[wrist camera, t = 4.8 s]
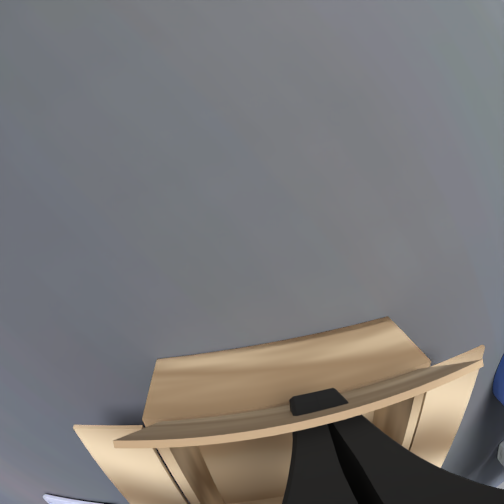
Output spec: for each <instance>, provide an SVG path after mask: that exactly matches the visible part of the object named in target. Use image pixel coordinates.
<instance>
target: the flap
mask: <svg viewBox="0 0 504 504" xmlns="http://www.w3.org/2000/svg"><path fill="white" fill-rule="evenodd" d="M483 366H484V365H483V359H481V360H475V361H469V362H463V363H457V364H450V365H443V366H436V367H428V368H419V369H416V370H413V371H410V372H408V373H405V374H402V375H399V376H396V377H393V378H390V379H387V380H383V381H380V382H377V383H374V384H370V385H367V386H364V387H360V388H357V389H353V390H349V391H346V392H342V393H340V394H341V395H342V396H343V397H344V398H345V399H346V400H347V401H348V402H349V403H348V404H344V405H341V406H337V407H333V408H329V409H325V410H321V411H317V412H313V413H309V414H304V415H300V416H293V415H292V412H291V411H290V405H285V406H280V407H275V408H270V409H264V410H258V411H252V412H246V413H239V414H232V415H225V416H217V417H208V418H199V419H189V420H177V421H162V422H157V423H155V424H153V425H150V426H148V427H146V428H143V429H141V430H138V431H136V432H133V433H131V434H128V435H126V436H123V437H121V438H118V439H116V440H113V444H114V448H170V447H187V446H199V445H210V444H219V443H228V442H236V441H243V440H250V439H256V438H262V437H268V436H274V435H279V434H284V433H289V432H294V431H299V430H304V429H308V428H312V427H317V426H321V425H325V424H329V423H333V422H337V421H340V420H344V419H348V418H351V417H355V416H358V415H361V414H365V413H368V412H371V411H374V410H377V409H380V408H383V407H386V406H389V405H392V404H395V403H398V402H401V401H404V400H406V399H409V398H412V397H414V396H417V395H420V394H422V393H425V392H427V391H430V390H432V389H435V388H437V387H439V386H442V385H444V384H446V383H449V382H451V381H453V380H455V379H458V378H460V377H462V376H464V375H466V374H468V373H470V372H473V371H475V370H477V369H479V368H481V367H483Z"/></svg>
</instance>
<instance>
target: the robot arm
mask: <svg viewBox="0 0 504 504" xmlns="http://www.w3.org/2000/svg"><path fill="white" fill-rule="evenodd" d="M289 403H290V411H291V412H292V415H293V416H300V415H304V414H309V413H313V412H317V411H321V410H325V409H329V408H333V407H337V406H341V405H344V404H348V403H349V402H348V401H347V400H346V399H345V398H344V397H343V396H342V395H341V394H340V393H339V392H338V391H337V390H336V389H335V388H329V389H325V390H321V391H316V392H312V393H307V394H302V395H298V396H293V397H292V398H291V399H290V400H289ZM292 436H293V443H292V455H291V462H290V468H289V474H288V480H287V485H286V489H285V493H284V497H283V501H282V504H504V489H499V488H495V487H491V486H487V485H484V484H480V483H477V482H474V481H472V480H469V479H466V478H463V477H461V476H458V475H455V474H453V473H450V472H448V471H446V470H444V469H442V468H440V467H438V466H436V465H433V464H432V463H430V462H428V461H426V460H424V459H422V458H421V457H419V456H417V455H416V454H414V453H412V452H411V451H409V450H408V449H406V448H404V447H403V446H402V445H400V444H399V443H397V442H396V441H394V440H393V439H392V438H390V437H389V436H388V435H386V434H385V433H384V432H382V431H381V430H380V429H379V428H377V427H376V426H375V425H374V424H373V423H371V422H370V421H369V420H368V419H367V418H365V417H364V416H363V415H362V414H361V415H358V416H355V417H351V418H348V419H344V420H340V421H337V422H333V423H329V424H325V425H321V426H317V427H312V428H308V429H304V430H299V431H294V432H292ZM43 498H44V499H45V500H46V501H47V502H48V503H49V504H102V503H94V502H87V501H80V500H74V499H68V498H63V497H57V496H53V495H48V494H44V496H43Z"/></svg>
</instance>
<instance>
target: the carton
mask: <svg viewBox="0 0 504 504" xmlns="http://www.w3.org/2000/svg"><path fill="white" fill-rule="evenodd" d="M484 349H485V346H483V345H481V346H479V347H476V348H474V349H472V350H470V351H468V352H465V353H463V354H461V355H458V356H456V357H454V358H451V359H449V360H446V361H444V362H441V363H439V364H436V365H434V366H431V367H436V366H443V365H450V364H457V363H463V362H469V361H475V360H481V359H482V356H483V353H484ZM430 364H431V361H430V360H429V358H428V357H427V356H426V355H425V354H424V353H423V352H422V351H421V350H420V349H419V348H418V347H417V346H416V345H415V344H414V343H413V342H412V341H411V340H410V339H409V338H408V336H407V335H406V334H405V333H404V332H403V331H402V330H401V329H400V328H399V327H398V326H397V325H396V324H395V323H394V322H393V321H392V320H391V319H390V318H389V317H384V318H380V319H376V320H372V321H368V322H364V323H360V324H356V325H352V326H348V327H343V328H339V329H335V330H330V331H326V332H321V333H317V334H312V335H307V336H302V337H297V338H292V339H287V340H282V341H277V342H271V343H266V344H260V345H254V346H248V347H242V348H236V349H230V350H223V351H217V352H210V353H203V354H195V355H187V356H179V357H171V358H162V359H157V361H156V365H155V369H154V372H153V376H152V380H151V384H150V388H149V392H148V396H147V401H146V405H145V409H144V413H143V417H142V421H143V423H144V425H145V427H148V426H150V425H153V424H155V423H157V422H162V421H177V420H189V419H199V418H208V417H217V416H225V415H232V414H239V413H246V412H252V411H258V410H264V409H270V408H275V407H280V406H285V405H290V403H289V400H290V399H291V398H292V397H293V396H298V395H302V394H307V393H312V392H316V391H321V390H325V389H329V388H335V389H336V390H337V391H338V392H339V393H342V392H346V391H349V390H353V389H357V388H360V387H364V386H367V385H370V384H374V383H377V382H380V381H383V380H387V379H390V378H393V377H396V376H399V375H402V374H405V373H408V372H410V371H413V370H416V369H419V368H428V367H430ZM478 371H479V369H477V370H475V371H473V372H470V373H468V374H466V375H464V376H462V377H460V378H458V379H455V380H453V381H451V382H449V383H446V384H444V385H442V386H439V387H437V388H435V389H432V390H430V391H427V392H425V393H422V394H420V395H417V396H414V397H412V398H409V399H406V400H404V401H401V402H398V403H395V404H392V405H389V406H386V407H383V408H380V409H377V410H374V411H371V412H368V413H365V414H362V415H363V416H364V417H365V418H367V419H368V420H369V421H370V422H371V423H373V424H374V425H375V426H376V427H377V428H379V429H380V430H381V431H382V432H384V433H385V434H386V435H388V436H389V437H390V438H392V439H393V440H394V441H396V442H397V443H399V444H400V445H402V446H403V447H404V448H406V449H408V450H409V451H411V452H412V453H414V454H416V455H417V456H419V457H421V458H422V459H424V460H426V461H428V462H430V463H432V464H433V465H436V466H438V467H440V468H441V466H442V464H443V462H444V460H445V457H446V455H447V453H448V451H449V449H450V447H451V444H452V442H453V440H454V437H455V435H456V433H457V430H458V428H459V425H460V423H461V420H462V418H463V415H464V412H465V410H466V407H467V404H468V401H469V399H470V396H471V393H472V390H473V387H474V384H475V380H476V377H477V374H478ZM143 428H144V427H143V425H120V426H106V425H74V427H73V429H74V430H75V432H76V433H77V435H78V436H79V438H80V439H81V441H82V442H83V444H84V445H85V447H86V448H87V449H88V451H89V452H90V454H91V455H92V456H93V458H94V459H95V461H96V462H97V463H98V465H99V466H100V467H101V469H102V470H103V471H104V472H105V474H106V475H107V476H108V478H109V479H110V480H111V481H112V483H113V484H114V485H115V486H116V487H117V489H118V490H119V491H120V492H121V493H122V495H123V496H124V497H125V498H126V499H127V500H128V502H129V503H130V504H189V503H188V502H187V500H186V499H185V497H184V496H183V494H182V493H181V491H180V489H179V488H178V486H177V485H176V483H175V481H174V480H173V478H172V477H171V475H170V473H169V472H168V470H167V468H166V467H165V465H164V463H163V462H162V460H161V458H160V456H159V455H158V453H157V451H156V449H155V448H114V444H113V440H116V439H118V438H121V437H123V436H126V435H128V434H131V433H133V432H136V431H138V430H141V429H143ZM292 443H293V436H292V432H289V433H284V434H279V435H274V436H268V437H262V438H256V439H250V440H243V441H236V442H228V443H219V444H210V445H199V446H187V447H170V448H157V449H158V451H159V453H160V455H161V456H162V458H163V460H164V462H165V463H166V465H167V467H168V468H169V470H170V472H171V473H172V475H173V477H174V478H175V480H176V482H177V483H178V485H179V487H180V488H181V490H182V491H183V493H184V494H185V496H186V497H187V499H188V501H189V502H190V504H282V501H283V497H284V493H285V489H286V485H287V480H288V474H289V468H290V462H291V455H292Z"/></svg>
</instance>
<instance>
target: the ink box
mask: <svg viewBox="0 0 504 504" xmlns="http://www.w3.org/2000/svg"><path fill="white" fill-rule="evenodd" d="M497 459H498V460H499V461H500V463H501V464H502V465H503V467H504V441H502V442H501V443H500V444H499V449H498V455H497Z"/></svg>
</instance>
